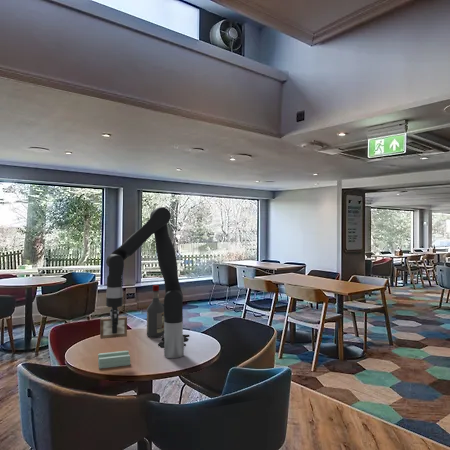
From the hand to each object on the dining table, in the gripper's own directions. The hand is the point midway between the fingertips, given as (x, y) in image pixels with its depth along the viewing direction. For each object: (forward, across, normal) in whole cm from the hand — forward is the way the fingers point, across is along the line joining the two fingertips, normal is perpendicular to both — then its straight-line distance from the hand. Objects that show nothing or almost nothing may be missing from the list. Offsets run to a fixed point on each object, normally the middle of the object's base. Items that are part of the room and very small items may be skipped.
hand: (114, 332), depth 181 cm
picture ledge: (+15, 0, 0) cm, 15 cm away
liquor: (+15, +40, -27) cm, 50 cm away
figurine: (+15, +23, -34) cm, 44 cm away
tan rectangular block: (+2, 0, 0) cm, 2 cm away
